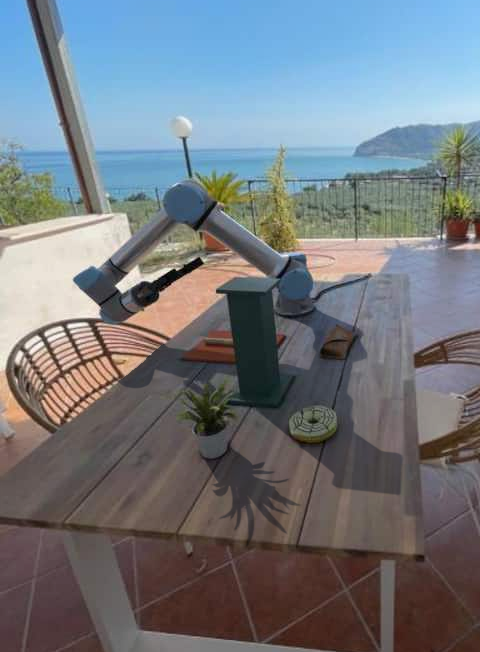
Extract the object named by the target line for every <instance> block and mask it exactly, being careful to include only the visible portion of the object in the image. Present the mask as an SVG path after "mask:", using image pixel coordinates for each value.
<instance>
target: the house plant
mask: <svg viewBox="0 0 480 652" xmlns="http://www.w3.org/2000/svg"><path fill="white" fill-rule="evenodd" d="M231 376H232V375H229V376H228V377H226V378H225V379H223V381H222V382H221V383H220V385H219V387H218V388H217V389H215V391H213V393H211V392H210V387H209V385H208V380H205V379H203V384H204V386H203V396H202V395H200V396H198V397H196V396H195V394H194V392H192V391H191V390H189V389H187V388H183V390H182V389H180V392H181V394H183V395H185V396H186V398H187V399H188V400H189V401H190V402H192V403H193V404H194V407H192V406H190V404H188V403H186V402H185V401H184V400H182V399H181V398H178V397H176V396H162V397H161V399H173V400H175V401H178V402H181V403H182V404H183V405H185V406H187V407H188V408H185V409H184V410H182V411H180V412H179V413H178V414H177V416H176V420H178V421H186V420H190V421H193V422H195V423H194V424H193V426H190V427H189V428H187V429H186V432H188V431H189V430H191V431H192V434H193V437H194V439H195V441H196V445H197V446H198V449H199V451H200V453H201V455H202V457H203V458H205V459H216V458H219V457H221V456H222V455H225V453H226V452H227V450H228V440H229V428H230V427H231V426H230V421H229V419H228V418H230V419H232V420H235V421H236V422H237V423H238V417H237V415H236V414H237V412H236V411H235V410H234V409H233V407H231V406H228V405H227V404H228V403H227V402H228V400H229V399H226V398H227V397H228V396H230V395H232V394H234V393H237V392H233V393H230V394H228V393H227V395H225V396H224V397H223V398H222V400H220V399H221V397H222V395H223V393H224V391H225V389H226V385H227V382H228V381H229V380H230V378H231ZM212 398H213V401H212V402H211V399H212ZM230 399H232V398H230ZM211 403H212V405H211ZM226 405H227V406H226ZM190 409H191V410H192V411H193V412H195V413H196V414H197V415H198V416H197V415H195V414H194V413H192V412H191V411H188V410H190ZM227 410H230V411H232V412H230V411H229V412H226V411H227Z"/></svg>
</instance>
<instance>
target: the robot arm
mask: <svg viewBox="0 0 480 652" xmlns="http://www.w3.org/2000/svg"><path fill="white" fill-rule="evenodd" d="M162 198H163V199H162V205H163V207H162V208H161V209H160V210H159V211H158V212H156V214H155V215H154V216H152V218H151V219H149V220H148V221H146V223H145V224H144V225H143V226H142V227H141V228H139V229H138V231H136V232H135V233H134V234H133V235H132V236H131V237H130V238H129V239H128V240H127V241H126V242H125V243H124V244H123V245H121V246H120V247H119V248H118V249H117V250H116V251H115V252H114V253H113V254H112V255H111V256H110V257H109V258H108V259H106V261H104V262H103V263H102V264H101V265H100V266H98V268H97V267H96V266H95V265H89V266H88V267H86V268H85V269H83V270H82V271H81V272H79V273H77V274H76V275H75V276H73V278H72V282H73V283H74V284H75V285H76V286H77V287H78V289H79V290H80V291H82V292H83V293H84V294H85V295H86V296H87V297H89V298H90V300H91V301H93V302H94V303H95V304H96V305H97V306H98V307H99V310H98V314H99V317H100V319H101V321H103V322H104V323H105V324H106V325H111V326H117V325H119V324H121V323H123V322H126V321H127V320H129V319H130V318H132V317H133V316H135V315H136V314H138V313H139V312H143V313H144V312H145V309H146V308H148V307H150V306H152V305H153V304H155V303H156V302H158V301H159V299H160V293H162V292H163V291H165V290H166V289H167V288H169V287H171V286H172V284H173V283H175V282H177V281H178V280H180V279H182V278H183V277H185V276H187V275H189V274H191V273H192V272H194V271H195V270H197V269H198V268H200V267H202V266H204V265H205V262H204V261H203V259H202V258H201V257H200V256H198V257H196V258H194V259H193V260H191V261H189V262H188V263H183V264H182V265H183V267H181V268H179V269H176V268H171V269H170V270H169V271H167V272H166V273H164V274H163V275H161V276H159V277H157V278H156V279H154V280H153V281H148V280H141V281H140V282H138V283H137V284H135V285H133V286H132V287H130V288H129V289H127V290H125V291H124V292H121V290H120V289H119V288H118V287H117V285H118V284H119V283H121V281H122V280H124V279H125V277H127V276H128V275H129V274H130V272H131V271H133V270H134V269H135V268H136V267H137V266H138V265H139V264H140V263H141V262H142V261H143V260H145V259H146V258H147V257H148V256H149V255H151V253H152V252H153V251H154V250H156V248H158V247H159V246H160V245H161V244H162V243H163V242H164V241H165V240H166V239H167V238H169V236H171V235H172V234H173V233H174V232H175V231H176V230H177V229H178V228H179V227H180V226H182V225H185V226H187V227H188V228H190V229H192V230H193V231H194V232H196V233H206V234H207V235H208V236H210V237H211V238H212V239H214V240H216V241H217V242H218V243H220V244H221V245H223V246H224V247H225V248H227V249H228V250H230V251H231V252H232V253H234V254H236V255H237V256H238V257H240V258H241V259H243V260H244V261H246V262H247V263H248V264H249V265H251V266H252V267H254V268H255V269H256V270H258V271H259V272H261V273H262V274H264V275H265V276H266V278H275V279H280V280H281V283H279V284H278V285H277V286H276V287H275V289H277V296H276V301H275V304H274V313H276V314H277V315H279V316H282V317H287V318H296V317H302V316H303V317H304V316H306V315H308V314H309V315H310V313H312V312H313V311H314V309H315V308H314V307H315V306H314V302H313V301H314V300H317V299H318V298H319V297H320V295H321V294H322V293H324V292H326V291H329V290H332V289H334V288H337V287H341V286H345V285H348V284H352V283H356V282H358V281H361V280H364V279H365V278H363V279H362V277H360V278H361V279H359V278H357V279H353V280H354V281H353V280H349V281H346V282H343V283H338V284H335V285H332V286H330V287H327V288H325V289H322V290H320V291H319V292H318V293H317V295H316V296H315V297H311V293H312V290H313V287H314V278H313V275H312V273H311V272H310V271H309V269H308V264H307V262H308V259H307V255H306V254H305V253H303V252H287V253H285V252H284V253H279V252H277V251H276V250H274V249H273V248H272V247H271V246H269V245H268V244H267V243H265V242H264V241H263V240H261V239H260V238H259V237H258V236H256V235H254V234H253V233H252V232H251V231H249V230H248V229H247V228H245V226H243V225H241V224H240V223H238V222H237V221H236V220H234V219H233V218H232V217H230V215H228V214H226V213H225V212H224V211H222V209H221V205H220V202H218V201H217V200H216V199H214V198H213V197H211V196H210V195H209V193H208V192H207V189H206V188H205V187H204V186H203V185H202V184H200V183H199V182H197V181H195V180H188V179H187V180H182V181H179V182H175V183H173V184H171V185H170V186H169V187H168V188H167V189H166V191H165V193H164V194H163V197H162ZM367 275H369V276H371V275H372V272H369V273H367ZM369 276H366V275H365V276H363V277H366V278H368V277H369Z"/></svg>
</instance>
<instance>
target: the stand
mask: <svg viewBox="0 0 480 652" xmlns="http://www.w3.org/2000/svg"><path fill="white" fill-rule="evenodd" d="M279 283H281V280H280V279H275V278H267V277H250V276H249V277H248V276H234V277H232V278H231V279H229V280H228V281H226V282H225V283H223V284H222V285H220V286H219V287H217V288H216V289H215V294H216V295H226V300H227V308H228V315H229V323H230V331H232V338H233V346H234V353H235V361H236V364H235V366H236V368H235V369H236V374H237V382H236V383H235V385H234V386H233V387H232V388H231V390H230V391H229V392H228V393H227V395H228V394H230V393H233V392H237V393H234V394H232V395H230V396H228V397H227V398H226V399H229V400H228V402H227V403H226V404H232V405H244V406H257V407H265V408H266V407H267V408H278V407H279V405H280V404H281V403H282V400H283V398H284V397H285V395H286V394H287V391H288V390H289V388H290V386H291V384H292V382H293V381H294V379H295V374H294V373H281V372H280V363H279V362H280V361H279V350H278V346H277V339H276V334H277V328H276V318H275V304H274V295H273V290H274V289H276V286H277V285H278V284H279ZM230 398H232V399H230Z"/></svg>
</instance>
